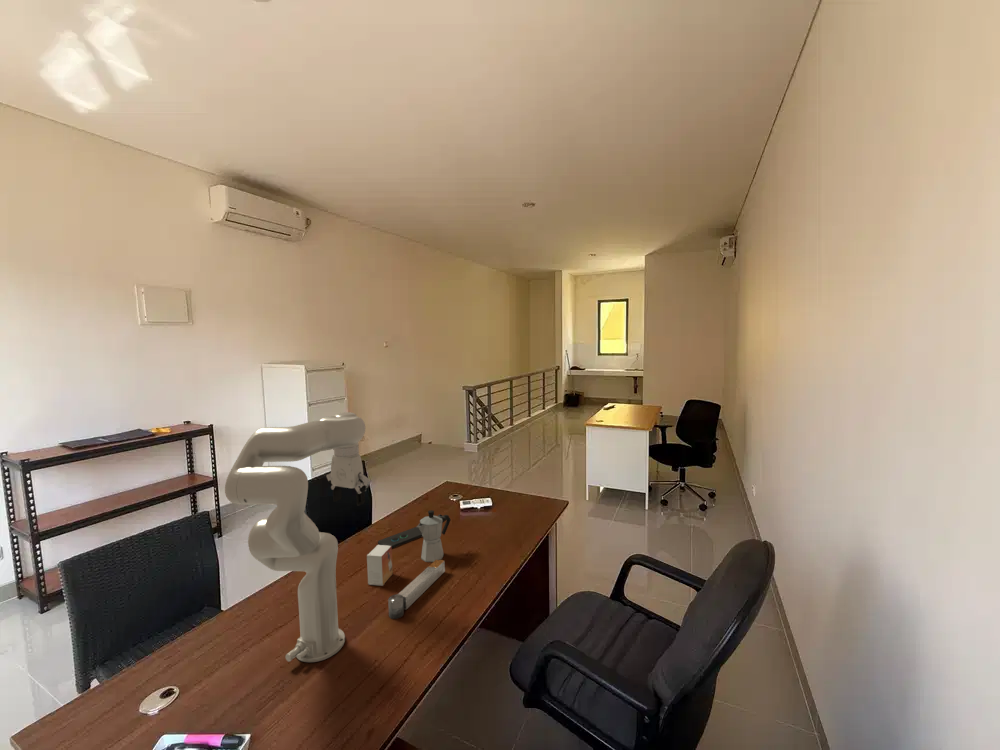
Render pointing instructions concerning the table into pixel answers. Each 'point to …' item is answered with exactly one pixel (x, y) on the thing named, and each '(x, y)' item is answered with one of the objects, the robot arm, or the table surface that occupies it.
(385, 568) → the small box
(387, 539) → the smart home device
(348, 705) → the table surface
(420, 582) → the tongs loose arm
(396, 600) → the tongs hinge and fixed arm
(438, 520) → the coffee maker
